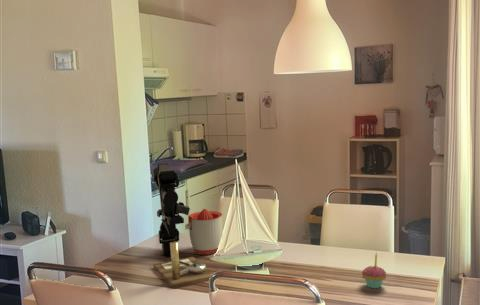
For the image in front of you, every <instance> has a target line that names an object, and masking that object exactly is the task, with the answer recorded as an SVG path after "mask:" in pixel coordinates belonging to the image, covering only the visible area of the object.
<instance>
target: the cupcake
mask: <svg viewBox="0 0 480 305" xmlns="http://www.w3.org/2000/svg"><path fill="white" fill-rule="evenodd" d="M377 260H378V255H377V252H375V254H374V265H372V266H371V265H370V266H367V267H365V268H364V269H363V270H362V272H361V276H362V278H363V279H364V280H365V283H366V286H367V287H368V288H369V287H371V289H373V288H377V289H380V288H381V287H382V284H383V282H384V280H386V279H387V272H386V271H385V270H384V268H382V267H379V266H377V264H378V263H377V262H378V261H377ZM379 287H380V288H379Z"/></svg>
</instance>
